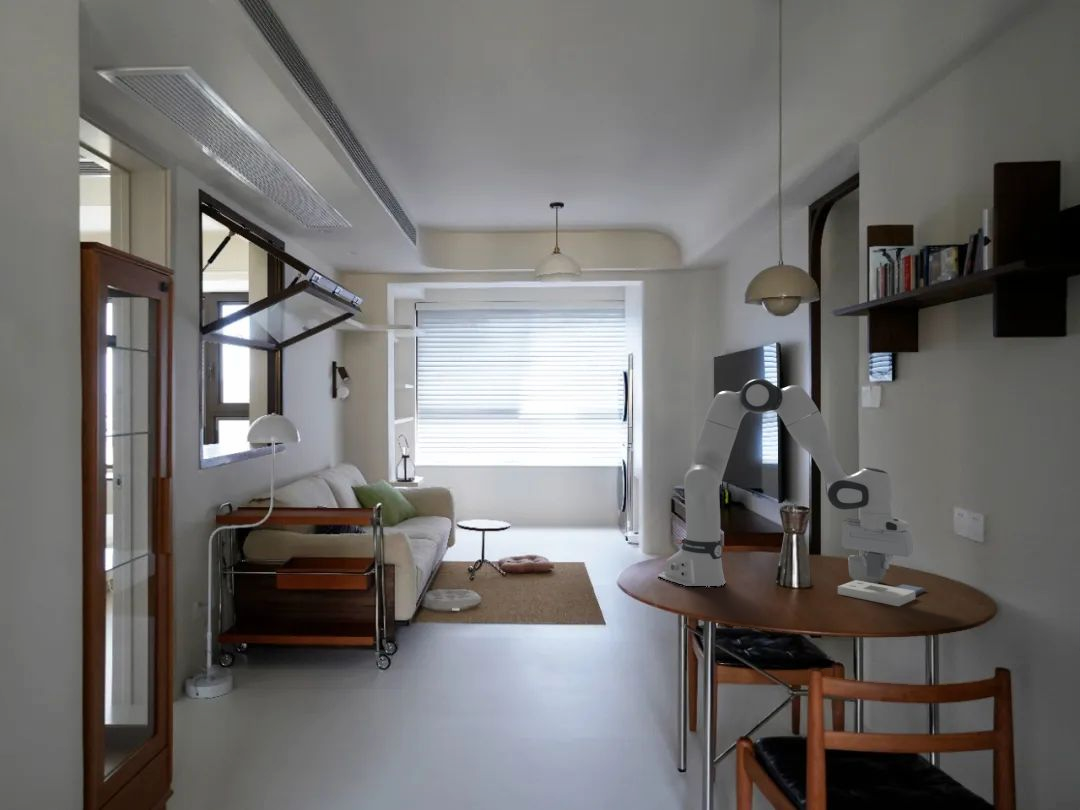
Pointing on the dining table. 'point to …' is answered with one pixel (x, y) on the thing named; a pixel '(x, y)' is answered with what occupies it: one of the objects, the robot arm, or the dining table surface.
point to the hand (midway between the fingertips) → (876, 567)
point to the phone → (912, 588)
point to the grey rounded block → (860, 570)
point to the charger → (875, 564)
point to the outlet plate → (877, 592)
